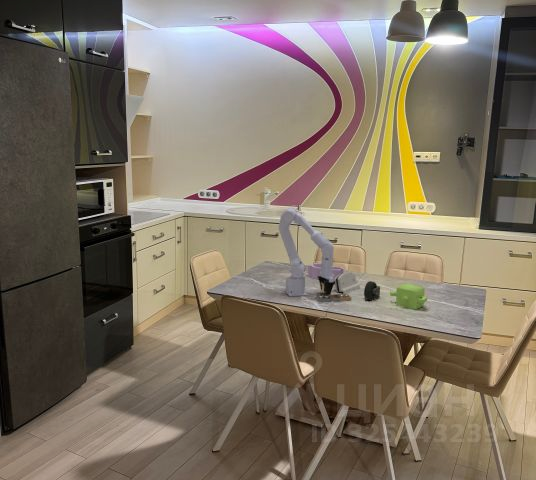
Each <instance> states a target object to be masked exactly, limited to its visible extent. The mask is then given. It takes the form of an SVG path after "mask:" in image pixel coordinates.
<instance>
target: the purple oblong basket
mask: <svg viewBox="0 0 536 480" xmlns="http://www.w3.org/2000/svg"><path fill="white" fill-rule="evenodd" d="M344 269H345V268H344V267H342V266H334V265H333V268H332V274H334V276H333V281H334V279H335V278H336V277H337V276H338V275H340V274H342V273H345V272H344V271H345V270H344ZM320 271H321V262H319V263H318V262H313V264H308V265H307V277H308V278H309V277H310V278H311V279H313V280H318V281H319V279H318V276H320Z"/></svg>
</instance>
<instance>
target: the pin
mask: <svg viewBox="0 0 536 480" xmlns="http://www.w3.org/2000/svg"><path fill="white" fill-rule="evenodd" d="M321 284H322V290H321V292H322V294H323V295H326V289H325V284H324V282H321Z"/></svg>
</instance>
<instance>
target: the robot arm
mask: <svg viewBox="0 0 536 480" xmlns="http://www.w3.org/2000/svg"><path fill="white" fill-rule="evenodd" d="M292 222H293V224H297V225H299V226H300V227H302V228H303V229H304V230H305V231H306V232H307V234H309V235H310V240H311V241H312V242H313V243H314V244H315V246H317V247H318V248H319V249H320V252H321V257H320V258H321V259H320V260H321V261H320V263H321V271H320V276H318V279H319V280H318V282H319V287H320V291H322V284H321V282H324V284H325V289H326V295H330V294H331V295H332V291H333V288H334V287H335V281H333V276H334V274H332V268H333V266H334V265H333V264H334V262H333V261H334V257H333V256H334V249H335V247H334V244H333V243H332V241H330V240H329V239H327V237H325V235H324V233H323V232H322V231H320V230H316V229H314V227H312V225H311V224H310V223H309V221H308V220H307V219H306V218H305V217H304V216H303V215H302V214H301V213H300V212H299V211H297V209H296V208H294V207H288V208H287V209H285V210H284V211H283V212H282V214H281V215H280V219H279V222H278V223H279V224H278V232H279V233H280V237H281V239H282V241H283V245H284V248H285V251H286V254H287V257H288V259H289V263H290V264H289V266H290V274H291V275H290V276H288V277H287V276H286V281H285V291H284V292H285V293H286V294H287V295H288V296H289V297H298V296H308V293H306V291H305V289H306V288H305V287H306V275H305V271H306V265H305V264H304V263H303V261H302V259H301V258H300V255H299V253H298V250H297V247H296V244H295V241H294V239H293V236H292V232H291V231H290V227H291V224H292Z"/></svg>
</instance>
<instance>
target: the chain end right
mask: <svg viewBox="0 0 536 480" xmlns="http://www.w3.org/2000/svg"><path fill="white" fill-rule="evenodd" d="M328 296H329V297H330V298H341V301H340V302H351V301H352V296H350V295H349V294H348V293H346V294H343V293H342V294H341V293H340V294H335V293H334V294H331V295H328Z"/></svg>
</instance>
